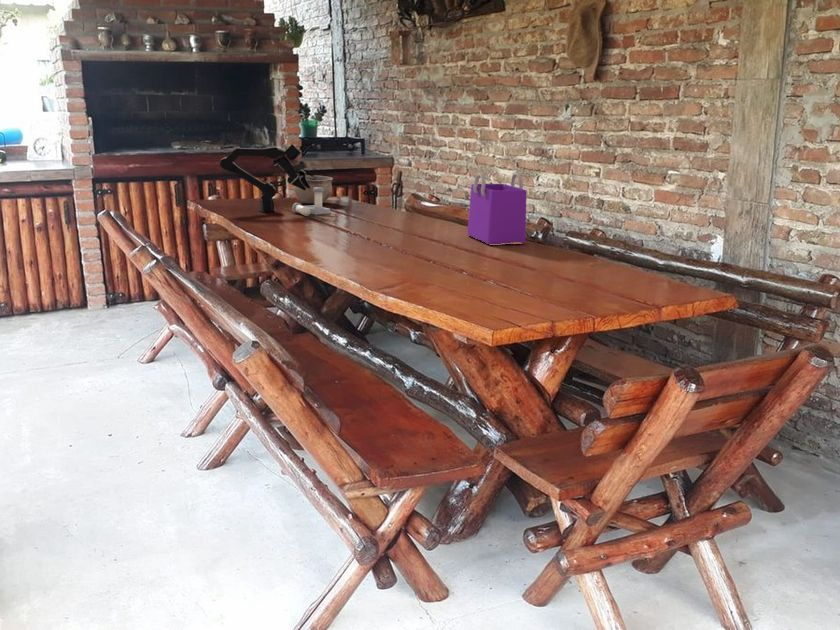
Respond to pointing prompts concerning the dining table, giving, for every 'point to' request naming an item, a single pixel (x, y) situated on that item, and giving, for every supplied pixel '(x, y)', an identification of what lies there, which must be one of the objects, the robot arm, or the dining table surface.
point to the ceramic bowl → (314, 181)
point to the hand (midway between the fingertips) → (307, 188)
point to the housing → (318, 210)
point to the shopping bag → (497, 211)
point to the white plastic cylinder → (300, 209)
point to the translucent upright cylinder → (318, 197)
